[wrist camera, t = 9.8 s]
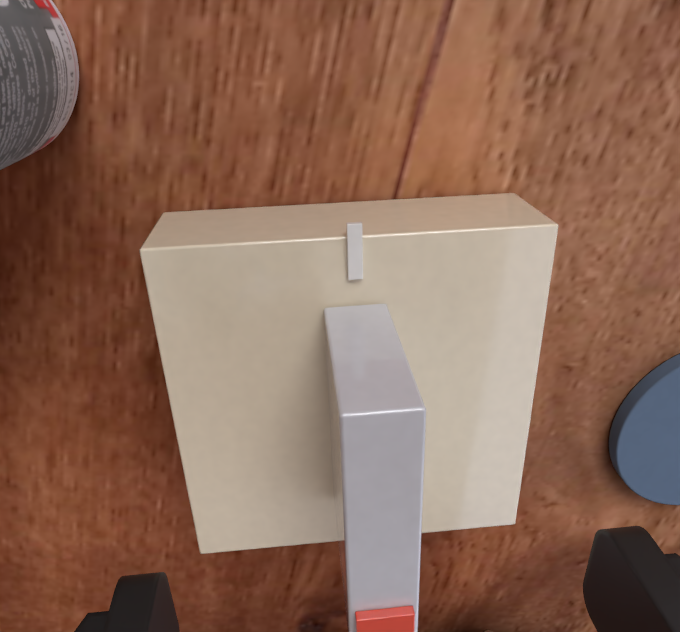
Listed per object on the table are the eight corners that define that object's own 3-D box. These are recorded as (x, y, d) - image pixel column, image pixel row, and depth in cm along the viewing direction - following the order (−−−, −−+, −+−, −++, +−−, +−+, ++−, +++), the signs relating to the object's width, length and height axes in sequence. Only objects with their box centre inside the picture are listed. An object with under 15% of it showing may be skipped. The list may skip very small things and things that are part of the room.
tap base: (159, 199, 16) (133, 236, 13) (516, 179, 16) (564, 211, 14) (211, 493, 21) (200, 567, 18) (485, 469, 21) (516, 537, 18)
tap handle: (323, 306, 14) (340, 423, 10) (386, 301, 14) (430, 416, 10) (333, 502, 17) (350, 656, 13) (386, 496, 17) (420, 648, 13)
